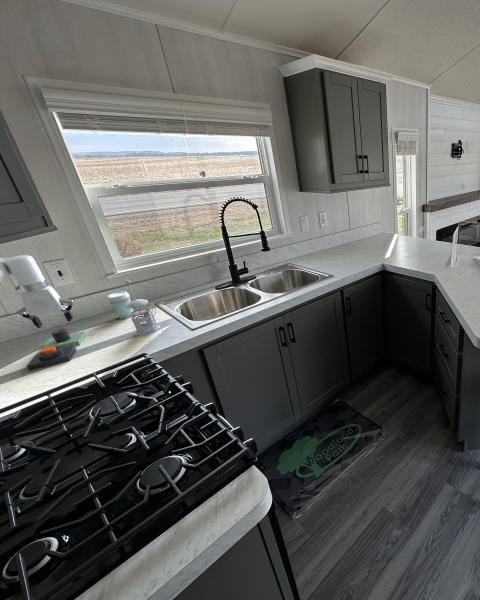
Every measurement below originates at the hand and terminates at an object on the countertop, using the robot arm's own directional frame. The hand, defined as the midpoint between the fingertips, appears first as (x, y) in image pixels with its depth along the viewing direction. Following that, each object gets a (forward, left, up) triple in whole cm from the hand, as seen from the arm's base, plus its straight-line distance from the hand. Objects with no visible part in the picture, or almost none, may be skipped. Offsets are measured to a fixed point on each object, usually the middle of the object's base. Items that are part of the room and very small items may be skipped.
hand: (55, 323), depth 138 cm
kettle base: (0, -14, -10) cm, 17 cm away
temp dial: (0, 0, -8) cm, 8 cm away
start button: (0, -14, -6) cm, 15 cm away
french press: (+31, -5, -10) cm, 33 cm away
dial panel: (0, 0, -10) cm, 10 cm away
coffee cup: (+19, +18, -10) cm, 28 cm away
